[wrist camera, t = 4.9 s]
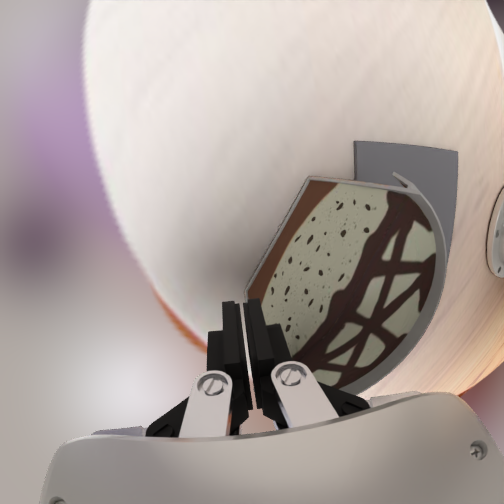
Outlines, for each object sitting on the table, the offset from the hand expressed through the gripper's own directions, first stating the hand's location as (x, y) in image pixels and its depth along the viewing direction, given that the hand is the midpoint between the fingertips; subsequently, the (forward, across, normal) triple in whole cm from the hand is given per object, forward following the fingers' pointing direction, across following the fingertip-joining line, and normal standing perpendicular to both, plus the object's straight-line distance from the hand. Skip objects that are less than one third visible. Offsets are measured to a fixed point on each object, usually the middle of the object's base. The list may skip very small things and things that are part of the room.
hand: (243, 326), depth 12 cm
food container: (+8, -5, 0) cm, 9 cm away
